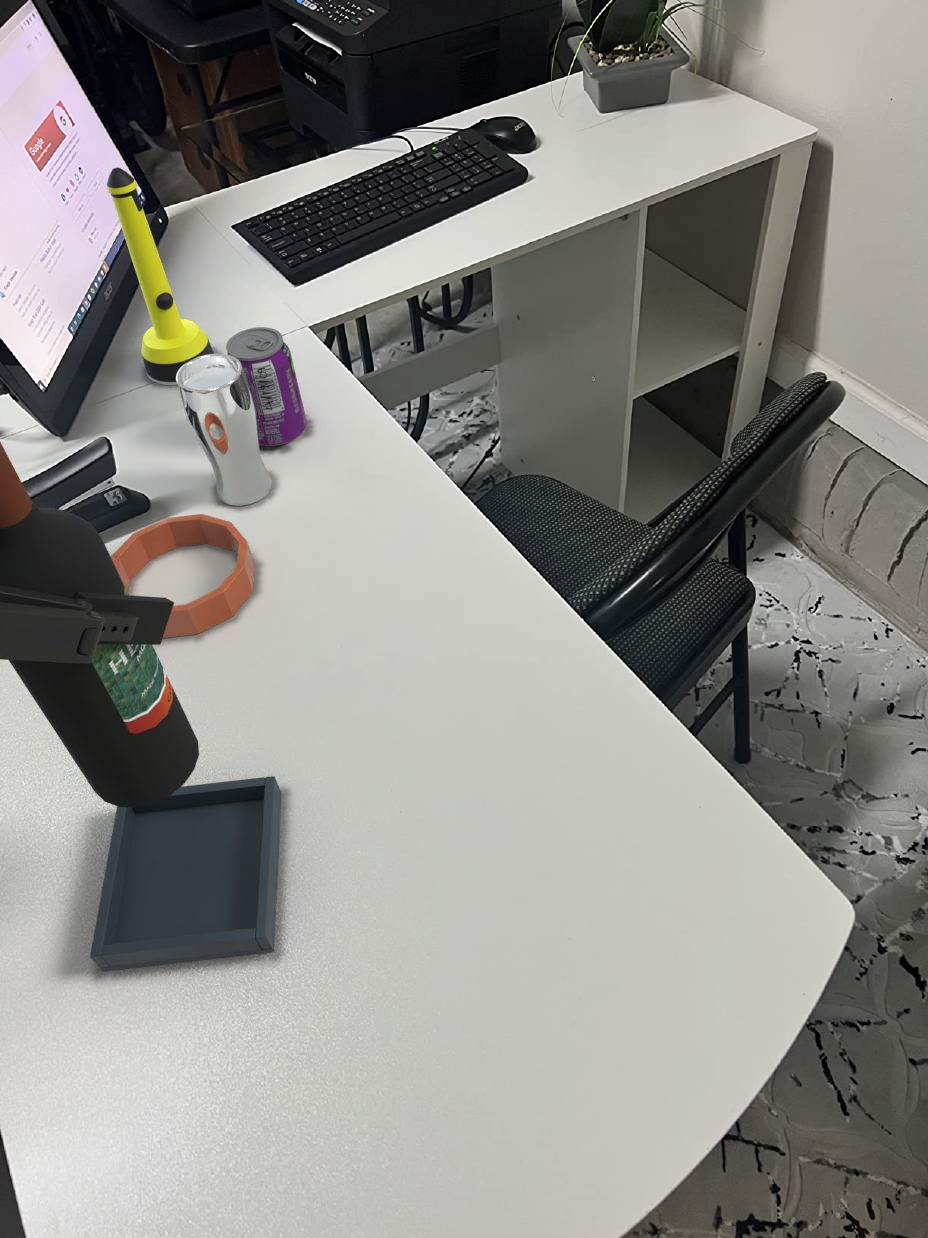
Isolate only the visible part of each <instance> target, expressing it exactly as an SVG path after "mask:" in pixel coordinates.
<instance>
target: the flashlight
mask: <svg viewBox="0 0 928 1238" xmlns="http://www.w3.org/2000/svg"><path fill="white" fill-rule="evenodd" d="M137 187H138V183H137V182H136V180H135V178H134V177H133V176H132V175H131V174H130V173H129V172H127V171H126V170H124V169H123V168H121V167H114V168H112V169H111V171H110V172H109V175H108V178H107V181H106V188H107V192H108V193H109V194H110V196H111V198H112V202H113V205H114V208H115V212H116V215H117V217H118V221H119V223H120V228H121V230H122V233H123V237H124V239H125V243H126V245H127V248H128V253H129V255H130V258H131V261H132V264H133V268H134V270H135V274H136V276H137V281H138V283H139V287H140V289H141V293H142V295H143V299H144V302H145V304H146V308H147V311H148V315H149V317H150V320H151V324H152V326H151V327H150V328H149V329H147V330H146V331H145V333H143V336H142V344H141V349H140V353H141V356H142V360H143V361H142V362H143V364H144V368H145V372H146V375H147V377H148V378H149V379H150V381H152V382H153V383H156V384H159V385H166V386H178V383H177V381H176V375H177V373H178V371H179V369H180V368H181V367H182V366H183V365H184V364H186V363H187V362H189V361H191V360H193V359H195V358H197V357H200V356H204V355H209V354H215V352H214V350H213V348H212V345H211V342H210V340H209V338H208V335H207V333H205V332H204V330H202V328H201V327H200V326H199V325H198V324H197V323H196V322H194V321H192V320H191V319H190V320H189V319H185V318H184V319H183V318H181V316H180V312H179V310H178V307H177V304H176V301H175V298H174V295H173V291H172V289H171V286H170V283H169V280H168V277H167V275H166V272H165V269H164V266H163V262H162V260H161V257H160V254H159V251H158V249H157V245H156V243H155V240H154V237H153V234H152V231H151V228H150V226H149V223H148V219H147V217H146V214H145V210H144V208H143V205H142V202H141V199H140V195H139V193H138V190H137Z"/></svg>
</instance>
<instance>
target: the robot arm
mask: <svg viewBox="0 0 928 1238" xmlns="http://www.w3.org/2000/svg"><path fill="white" fill-rule="evenodd" d="M174 604H175V602H174V601H173V600H170V599H169V598H167V597H164V596H163V597H161V596H146V595H130V594H129V595H117V594H102V593H84V592H76V594H75V597H74V598H68V597H63V596H57V595H52V594H47V593H41V592H36V591H30V590H25V589H20V588H14V587H9V586H3V585H0V660H1V661H2V660H3V661H4V660H5V661H9V660H20V661H40V662H59V663H78V664H90V663H92V659H93V656H94V653H95V650H96V647H97V644H122V645H153V646H156V645H157V646H160V645H161V644H162V641H163V639H164V638H163V635H164V632H165V629H166V626H167V623H168V620H169V617H170V614H171V611H172V608H173V606H175V605H174Z"/></svg>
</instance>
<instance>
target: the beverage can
mask: <svg viewBox="0 0 928 1238" xmlns="http://www.w3.org/2000/svg"><path fill="white" fill-rule="evenodd" d="M225 348H226V352H227V355H231V356H233V357H235V358H237V359H238V360H239V361H240V362H241V365H242V368H243V371H244V374H245V376H246V379H247V382H248V384H249V387H250V390H251V393H252V396H253V400H254V404H255V408H256V414H257V422H258V435H259V446H266V447H275V446H281V445H286V444H288V443H291V442H293V441H294V440H296V439H298V438H299V437H300V436H301V435H302V434H304V432H305V430H306V428H307V425H308V421H307V416H306V412H305V408H304V404H303V400H302V395H301V390H300V387H299V383H298V378H297V374H296V370H295V366H294V362H293V361H294V360H293V357H292V353H291V350H290V347H289V346H288V345H287V343H286V342H285V341H284V338H283V334H282V333H281V331H279V330H278V329H274V328H272V327H266V326H256V327H250V328H247V329H244V330H242V331H239V332H237V333H235V334H234V335H232V336H231V337H230V338H229V339H228V340H227V342H226V344H225Z"/></svg>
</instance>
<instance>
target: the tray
mask: <svg viewBox="0 0 928 1238" xmlns="http://www.w3.org/2000/svg"><path fill="white" fill-rule="evenodd" d="M281 807H282V791H281V789H280V787H279V784H278V781H277V778H276V776H274V775H271V776H266V777H265V776H263V777H254V778H245V779H244V778H243V779H237V780H226V781H219V782H212V783H211V782H209V783H201V784H192V785H182V786H181V787H180V788H179V789H177V790H176V791H175V792H174V793H173V794H171V795H170V796H168V797H166V798H164V799H162V800H160V801H158V802H156V803H154V804H150V805H146V806H141V807H137V808H130V807H118V806H116V810H115V816H114V821H113V827H112V832H111V838H110V842H109V843H110V844H109V850H108V855H107V860H106V866H105V871H104V876H103V882H102V888H101V892H100V893H101V894H100V899H99V905H98V911H97V916H96V922H95V926H94V932H93V938H92V944H91V949H90V955H89V957H90V959H91V960H92V961H93V962H94V963H95V965H96V966H97V967H98V968H99V970H101V971H102V972H108V971H109V972H110V971H117V970H126V969H135V968H145V967H152V966H161V965H169V964H180V963H189V962H196V961H204V960H213V959H222V958H229V957H238V956H247V955H257V954H265V953H273V952H274V951H275V938H276V937H275V936H276V916H277V896H278V877H279V876H278V875H279V855H280V854H279V853H280V835H281V834H280V831H281V813H282V812H281V811H282V810H281V809H282V808H281Z"/></svg>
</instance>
